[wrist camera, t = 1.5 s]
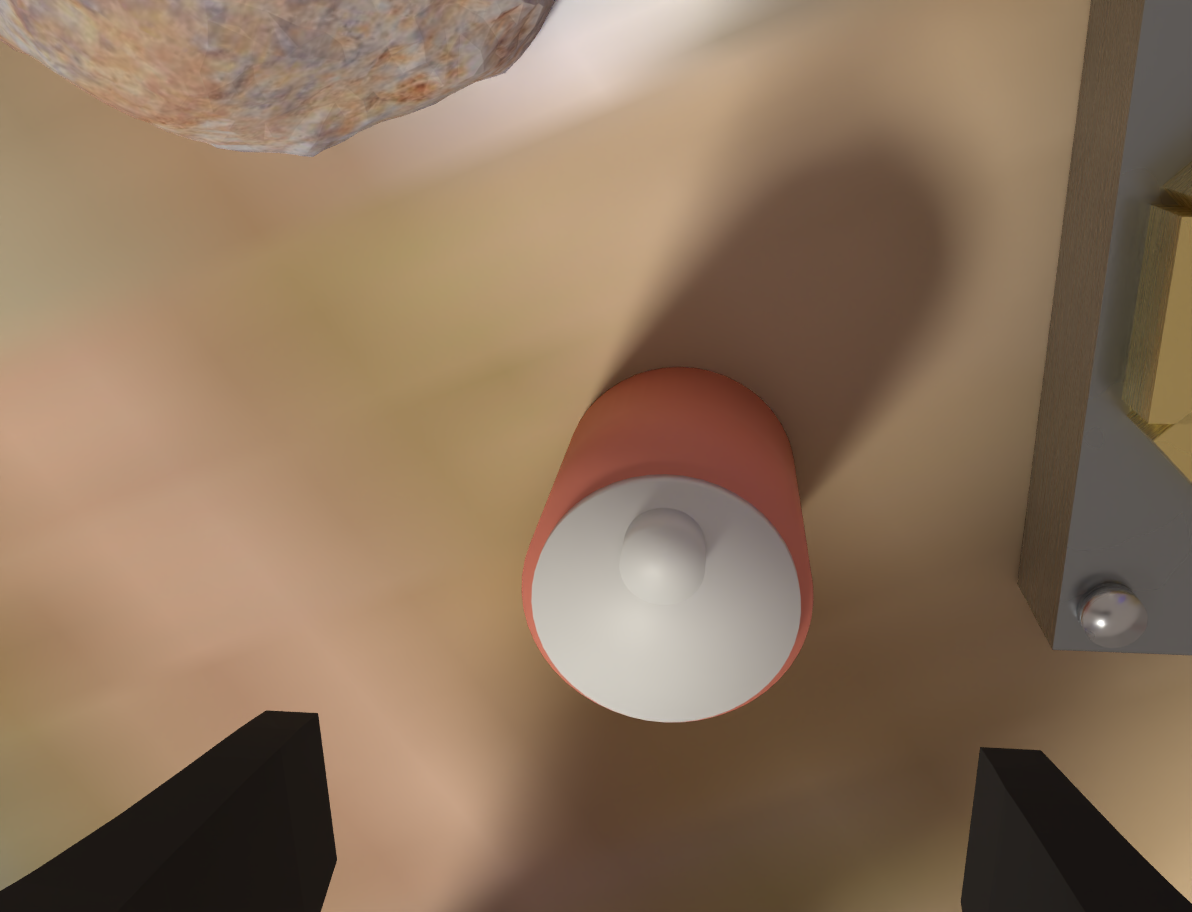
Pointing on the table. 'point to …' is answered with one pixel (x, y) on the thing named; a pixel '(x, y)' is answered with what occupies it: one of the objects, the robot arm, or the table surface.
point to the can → (672, 551)
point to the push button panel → (1120, 353)
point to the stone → (272, 60)
